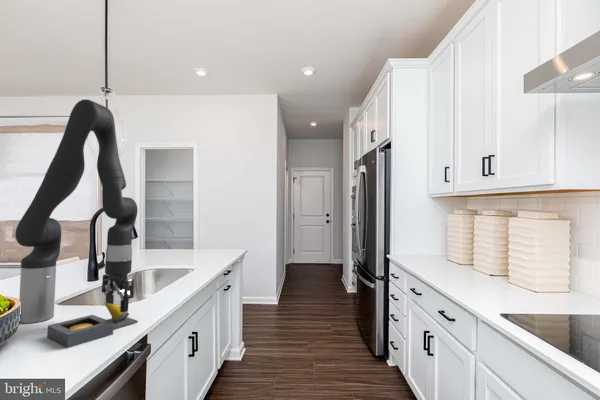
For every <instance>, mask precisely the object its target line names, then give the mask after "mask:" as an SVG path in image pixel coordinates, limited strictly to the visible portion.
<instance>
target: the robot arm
mask: <svg viewBox="0 0 600 400" xmlns="http://www.w3.org/2000/svg"><path fill="white" fill-rule="evenodd" d="M91 132H93V134H94V135H95V137H96V140H97V143H98V156H97V160H96V161H97V162H96V169H97V173H98V177H99V181H100V183H101V187H102V188H101V189H102V190H101V200H102V201H101V205H102V210H103V212H104V213H105V215H106V216H107V217H108V218H110V219H113V220H115V223H114V225H112V226H110V227H109V228H108V229H107V237H106V238H107V239H106V249H105V259H104V260H105V262H104V263H105V265H104V273H105V274H103V275H102V281H101V282H102V283H101V293H102V294H103V293H104V296H105V303H110V304H114V301H115V299H114V297H115V295H114V294H115V292H116V294H117V295H118V296H119V297H120V302H119V303H120V305H119V306H120V312H126V311H128V312H129V301H130V299H133V298H134V296H135V291H134V290H135V279H134V278H128V274H131V273H132V263H133V261H132V260H133V248H132V242H133V241H132V239H133V237H132V236H133V230H134V226H135V224H136V220H137V216H138V205H137V204H138V203H136V202H137V201H135V200H134V199H133V198H132V197H128V196H127V197H125V196H123V194H122V193H123V192H122V191H123V190H124V189H125V188H126V187H127V181H126V177H125V174H124V171H123V168H122V163H121V159H120V156H119V155H120V154H119V149H118V143H117V141H118V139H117V134H116V123H115V118H114V114H113V112H112V110H110V109H109V108H107V107H106V106H104V105H101V103H98V102H96V101H93V100H91V99H87V98H86V99H85V98H84V99H80V100H79V101H77V102H76V104H75V105H73V108H72V110H71V112H70V115H69V118H68V120H67V123H66V126H65V130H64V132H63V135H62V138H61V141H60V142H59V145H58V148H57V150H56V152H55V154H54V157H53V158H52V160H51V162H50V165H49V166H48V168H47V170H46V172H45V174H44V177H43V179H42V182H41V184H40V186H39V188H38V189H37V191H36V194H35V195H34V197H33V200H32V202H31V203H30V205H29V206H28V207H27V209H26V211H25V212H24V214H23V215H22V217H21V219H20V220H19V222H18V224H17V226H16V230H15V239H16V242H17V243H18V245H20V246H22V247H25V248H26V247H28V248H31V247H33V248H32V251H31V252H30V253H29V254H27V255H26V256H24V257H23V258H22V259H21V260H20V281H19V282H20V283H19V300H20V302H21V314H20V322H19V323H22V324H31V323H32V324H33V323H40V322H44V321H47V320H50V319H53V318H54V315H55V301H56V297H55V296H56V280H57V279H56V277H57V276H56V274H57V273H56V271H57V261H58V259H59V256H60V251H61V242H62V227H61V225H60V223H59V221H58V220H57V219H55V218H53V217H51V215H52V214H53V212H54V211H55V209H56V208H57V207H58V206H59V205H60V204H62V203H63V202H64V201H65V200H66V199H67V198H68V197H69V196H71V194H73V192H74V191H75V190H76V189H77V187H78V185H79V184H80V181H81V179H82V177H83V175H84V172H85V166H86V165H85V153H84V149H85V145H86V144H85V143H86V141H87V139H88V136H89V134H90V133H91ZM19 300H18V301H19ZM104 305H105V304H104ZM104 307H106V305H105V306H104Z"/></svg>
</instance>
